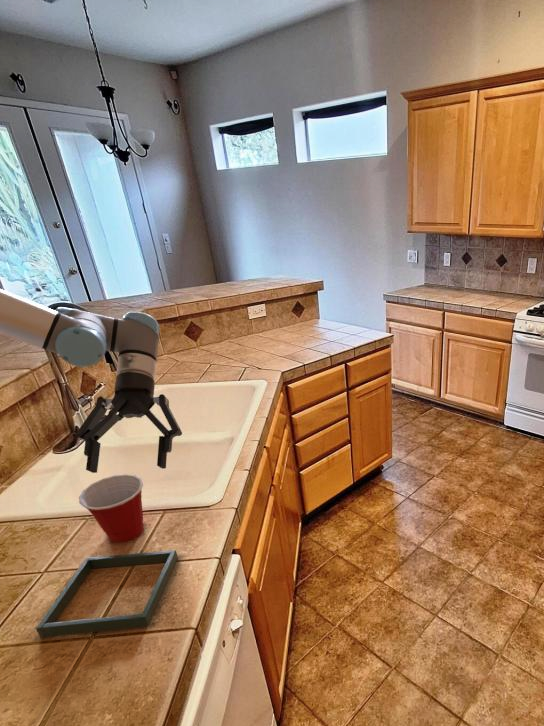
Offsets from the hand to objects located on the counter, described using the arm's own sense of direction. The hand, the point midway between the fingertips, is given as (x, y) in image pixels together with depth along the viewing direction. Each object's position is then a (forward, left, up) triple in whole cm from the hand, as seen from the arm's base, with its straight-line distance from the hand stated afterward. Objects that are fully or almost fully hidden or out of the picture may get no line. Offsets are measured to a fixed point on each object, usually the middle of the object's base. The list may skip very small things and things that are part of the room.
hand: (126, 469), depth 90 cm
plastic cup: (0, -7, -12) cm, 14 cm away
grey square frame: (+5, -24, -12) cm, 28 cm away
